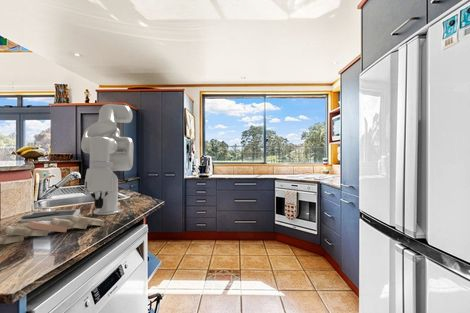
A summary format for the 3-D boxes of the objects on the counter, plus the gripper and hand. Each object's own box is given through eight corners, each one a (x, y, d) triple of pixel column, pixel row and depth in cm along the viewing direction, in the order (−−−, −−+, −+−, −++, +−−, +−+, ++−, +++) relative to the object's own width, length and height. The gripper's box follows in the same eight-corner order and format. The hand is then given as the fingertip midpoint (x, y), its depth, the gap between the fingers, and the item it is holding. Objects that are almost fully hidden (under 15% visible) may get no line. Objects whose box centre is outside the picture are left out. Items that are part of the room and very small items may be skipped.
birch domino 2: (44, 228, 94) (7, 225, 85) (48, 230, 91) (10, 228, 82) (42, 233, 93) (4, 231, 85) (46, 236, 90) (8, 234, 82)
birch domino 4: (99, 219, 109) (72, 215, 101) (104, 221, 105) (76, 217, 98) (98, 223, 108) (70, 220, 100) (102, 225, 105) (74, 222, 97)
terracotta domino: (63, 224, 99) (30, 220, 91) (67, 227, 96) (34, 223, 88) (61, 230, 98) (28, 226, 90) (65, 232, 95) (31, 228, 87)
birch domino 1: (20, 232, 89) (-25, 239, 80) (23, 235, 85) (-23, 243, 77) (20, 237, 88) (-25, 246, 80) (23, 240, 85) (-23, 249, 77)
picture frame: (20, 224, 109) (76, 219, 118) (20, 217, 109) (76, 213, 118) (31, 216, 123) (80, 213, 132) (31, 210, 123) (80, 207, 132)
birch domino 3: (83, 221, 104) (53, 217, 96) (87, 224, 101) (56, 220, 93) (81, 226, 103) (51, 223, 96) (85, 229, 100) (54, 225, 92)
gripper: (113, 164, 114) (113, 204, 114) (76, 165, 103) (76, 209, 103) (121, 165, 109) (120, 206, 109) (83, 166, 98) (82, 212, 98)
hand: (98, 207), depth 106 cm, fingers closed
